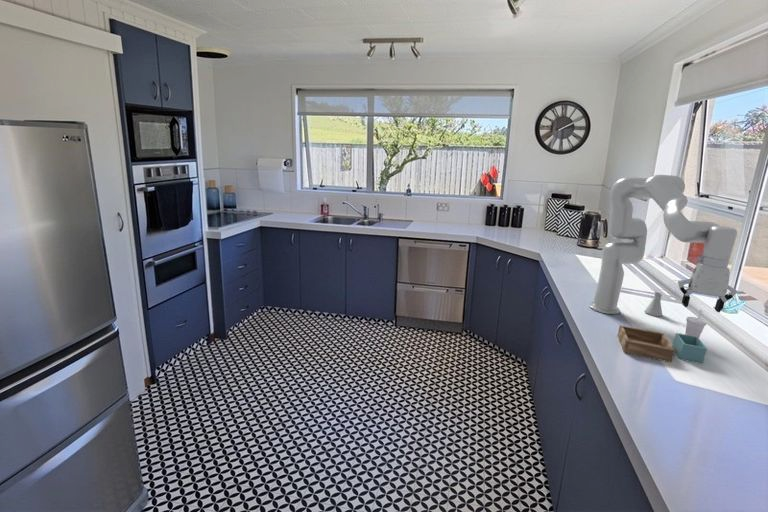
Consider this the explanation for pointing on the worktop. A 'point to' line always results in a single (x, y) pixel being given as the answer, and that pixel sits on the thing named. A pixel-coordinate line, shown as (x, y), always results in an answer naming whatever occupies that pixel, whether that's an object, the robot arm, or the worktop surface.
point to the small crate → (689, 348)
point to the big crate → (645, 343)
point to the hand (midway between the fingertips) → (700, 308)
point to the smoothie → (695, 326)
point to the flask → (655, 305)
